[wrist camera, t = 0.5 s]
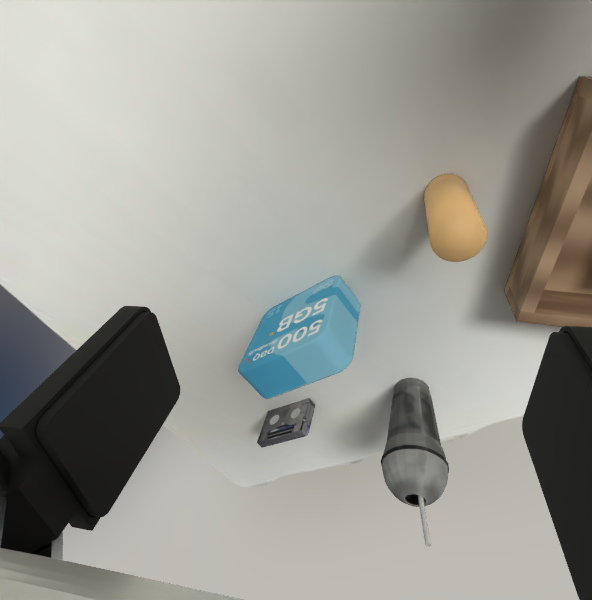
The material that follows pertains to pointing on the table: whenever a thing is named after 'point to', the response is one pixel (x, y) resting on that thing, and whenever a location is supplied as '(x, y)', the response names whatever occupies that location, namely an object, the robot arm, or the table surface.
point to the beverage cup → (414, 449)
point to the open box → (560, 230)
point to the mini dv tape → (287, 423)
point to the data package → (303, 339)
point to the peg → (453, 219)
